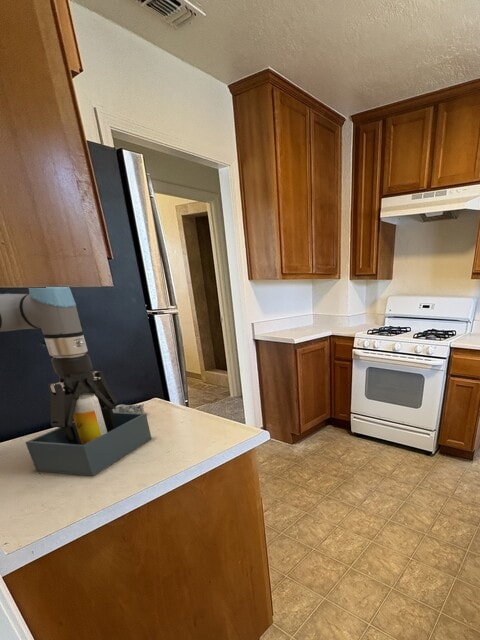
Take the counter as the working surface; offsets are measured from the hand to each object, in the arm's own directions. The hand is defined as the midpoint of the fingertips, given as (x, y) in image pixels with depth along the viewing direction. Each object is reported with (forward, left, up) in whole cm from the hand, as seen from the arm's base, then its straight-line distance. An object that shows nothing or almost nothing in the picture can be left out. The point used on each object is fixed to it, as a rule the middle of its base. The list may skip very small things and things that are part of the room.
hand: (95, 441), depth 91 cm
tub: (0, 0, -4) cm, 4 cm away
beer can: (0, 0, -3) cm, 3 cm away
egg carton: (-12, +26, -4) cm, 29 cm away
